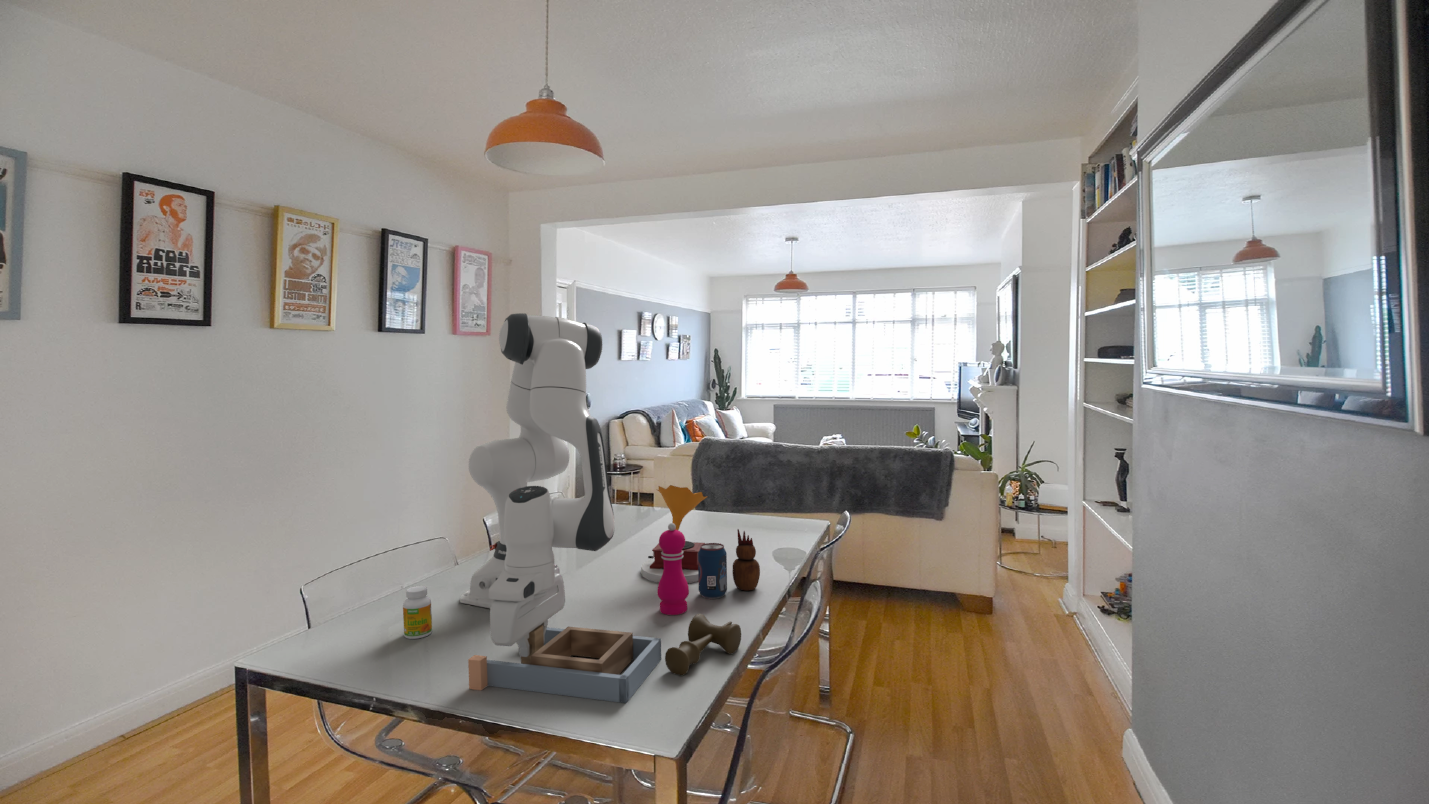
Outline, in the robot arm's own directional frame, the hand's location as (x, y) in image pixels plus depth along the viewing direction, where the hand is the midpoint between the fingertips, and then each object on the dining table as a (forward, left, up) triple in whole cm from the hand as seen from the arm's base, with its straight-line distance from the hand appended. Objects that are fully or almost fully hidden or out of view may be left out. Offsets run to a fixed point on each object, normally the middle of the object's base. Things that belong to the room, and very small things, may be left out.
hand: (532, 650), depth 120 cm
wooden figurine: (+29, +51, -3) cm, 59 cm away
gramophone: (+8, +61, -3) cm, 62 cm away
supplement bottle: (-32, +8, -3) cm, 33 cm away
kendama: (+30, +12, -4) cm, 32 cm away
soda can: (+22, +45, -3) cm, 50 cm away
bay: (+8, 0, -3) cm, 9 cm away
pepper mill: (+16, +33, -3) cm, 37 cm away
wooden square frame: (+8, 0, -3) cm, 8 cm away
